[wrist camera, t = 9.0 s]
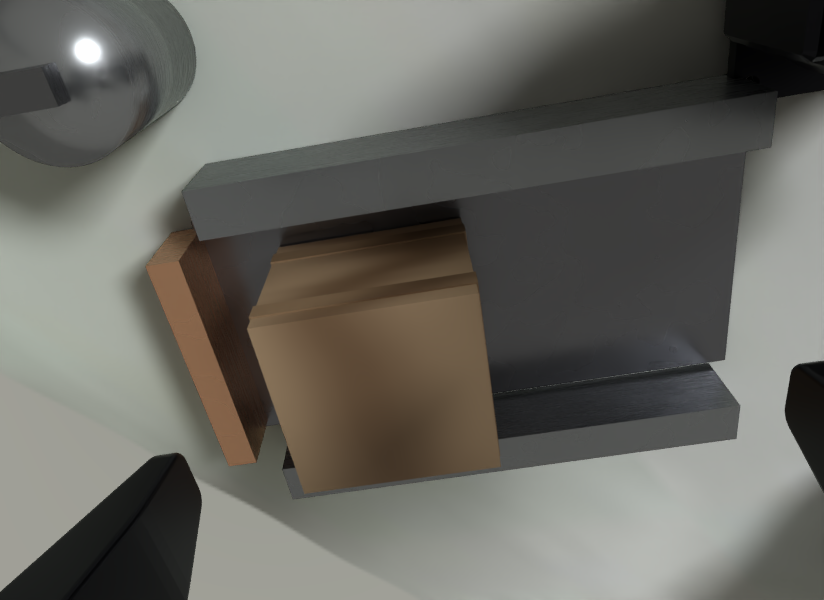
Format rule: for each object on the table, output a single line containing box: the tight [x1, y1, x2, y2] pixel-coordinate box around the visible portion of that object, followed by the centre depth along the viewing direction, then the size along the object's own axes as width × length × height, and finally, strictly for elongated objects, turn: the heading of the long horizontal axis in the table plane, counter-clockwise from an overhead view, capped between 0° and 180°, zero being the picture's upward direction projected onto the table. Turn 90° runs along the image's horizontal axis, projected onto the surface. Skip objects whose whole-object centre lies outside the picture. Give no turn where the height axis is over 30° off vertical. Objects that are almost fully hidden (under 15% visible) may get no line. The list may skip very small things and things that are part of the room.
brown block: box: [247, 218, 501, 494], centre depth 20 cm, size 6×6×5 cm
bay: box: [0, 0, 778, 499], centre depth 18 cm, size 20×17×6 cm
